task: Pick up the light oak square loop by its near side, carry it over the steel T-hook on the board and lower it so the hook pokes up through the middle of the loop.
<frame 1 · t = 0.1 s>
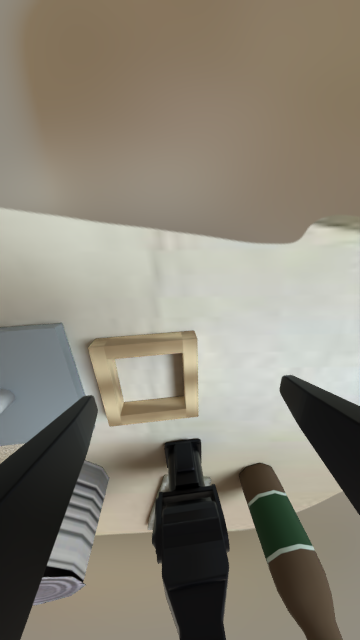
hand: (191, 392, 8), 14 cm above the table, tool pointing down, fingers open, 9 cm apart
packaged product: (177, 496, 38), on the table
can: (78, 477, 32), on the table
beer bottle: (254, 472, 36), on the table
hook board: (14, 387, 24), on the table
oak loop: (151, 374, 25), on the table
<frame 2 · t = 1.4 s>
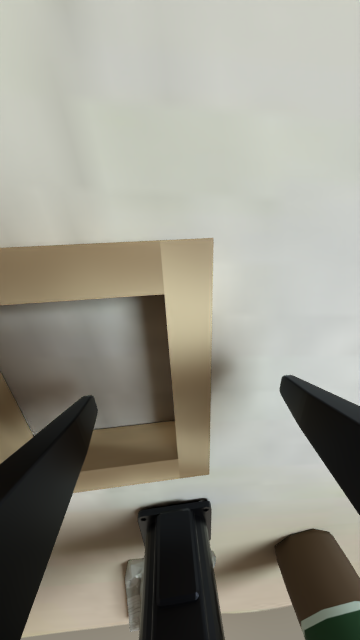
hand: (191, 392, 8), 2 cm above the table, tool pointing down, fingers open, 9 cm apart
packaged product: (167, 577, 23), on the table
beer bottle: (300, 541, 21), on the table
oak loop: (90, 371, 10), on the table
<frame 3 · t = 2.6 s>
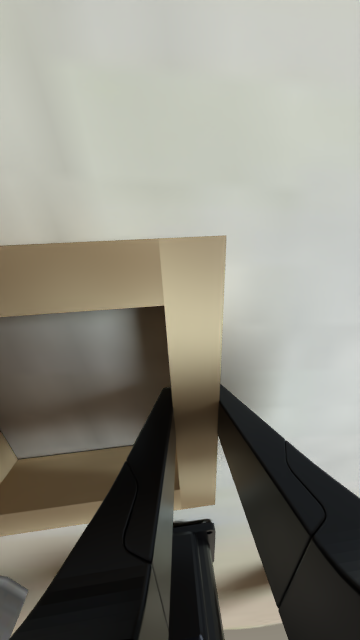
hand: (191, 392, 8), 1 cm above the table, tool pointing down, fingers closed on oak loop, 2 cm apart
oak loop: (79, 388, 9), on the table, touching gripper
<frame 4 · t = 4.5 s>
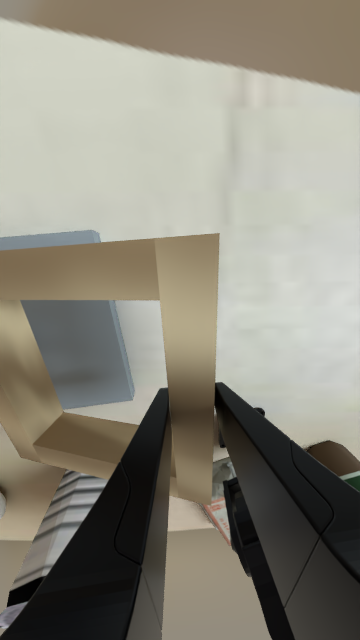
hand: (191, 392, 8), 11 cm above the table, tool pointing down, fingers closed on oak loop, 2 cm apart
packaged product: (224, 486, 31), on the table
can: (110, 461, 26), on the table
beer bottle: (320, 453, 30), on the table
hook board: (33, 334, 18), on the table
oak loop: (105, 365, 10), point 8 cm above the table, tilted 17°, touching gripper
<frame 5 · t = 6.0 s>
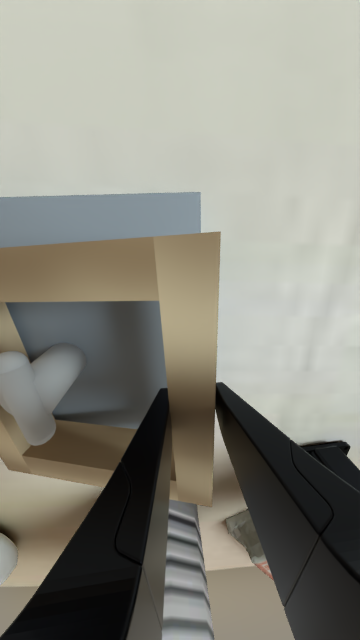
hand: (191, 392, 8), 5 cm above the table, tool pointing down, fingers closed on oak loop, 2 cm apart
packaged product: (273, 523, 27), on the table
can: (150, 501, 21), on the table
hook board: (77, 347, 13), on the table
oak loop: (99, 369, 10), point 3 cm above the table, tilted 14°, touching gripper
when the fingers open (3 cm above the table, at t = 6.9 s): oak loop stays where it is, resting on hook board.
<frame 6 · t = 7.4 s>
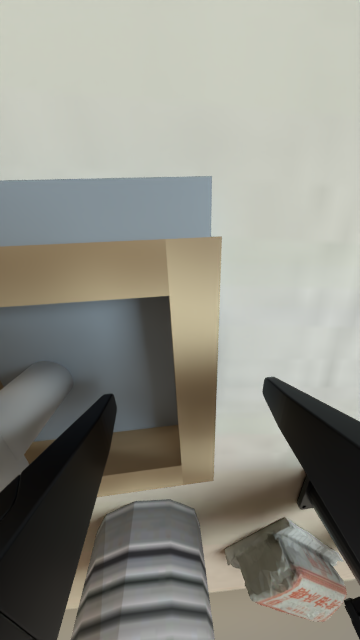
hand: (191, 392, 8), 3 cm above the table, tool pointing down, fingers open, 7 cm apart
packaged product: (282, 544, 25), on the table
can: (150, 525, 19), on the table
hook board: (64, 363, 11), on the table
oak loop: (90, 374, 10), point 1 cm above the table, touching hook board
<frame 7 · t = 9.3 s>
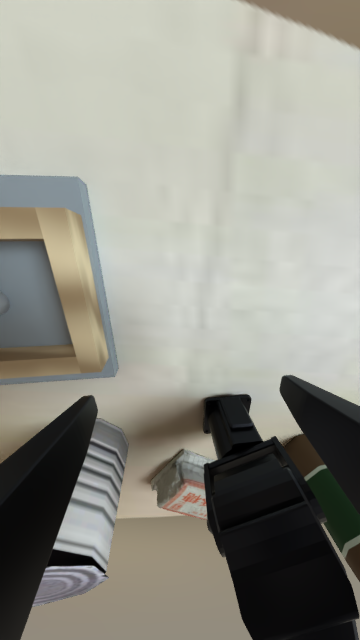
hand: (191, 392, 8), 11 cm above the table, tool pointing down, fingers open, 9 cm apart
packaged product: (205, 474, 31), on the table
can: (89, 443, 25), on the table
beer bottle: (302, 444, 30), on the table
hook board: (8, 297, 16), on the table
oak loop: (21, 299, 15), point 1 cm above the table, touching hook board
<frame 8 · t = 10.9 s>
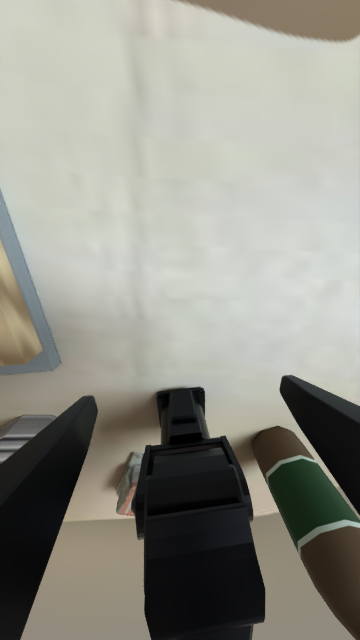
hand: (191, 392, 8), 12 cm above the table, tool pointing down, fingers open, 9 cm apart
packaged product: (174, 473, 30), on the table
can: (45, 441, 25), on the table
beer bottle: (271, 440, 29), on the table
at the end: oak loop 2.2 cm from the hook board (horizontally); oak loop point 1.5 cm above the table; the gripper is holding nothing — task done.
